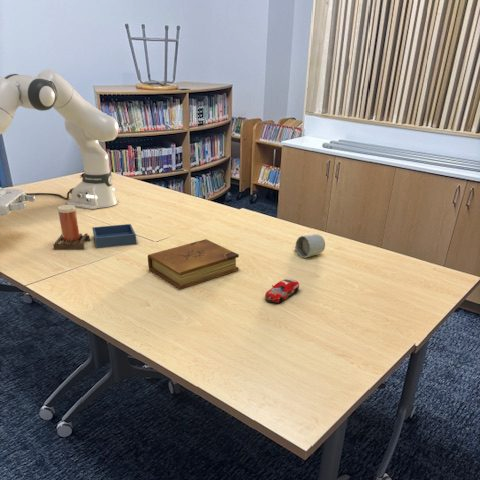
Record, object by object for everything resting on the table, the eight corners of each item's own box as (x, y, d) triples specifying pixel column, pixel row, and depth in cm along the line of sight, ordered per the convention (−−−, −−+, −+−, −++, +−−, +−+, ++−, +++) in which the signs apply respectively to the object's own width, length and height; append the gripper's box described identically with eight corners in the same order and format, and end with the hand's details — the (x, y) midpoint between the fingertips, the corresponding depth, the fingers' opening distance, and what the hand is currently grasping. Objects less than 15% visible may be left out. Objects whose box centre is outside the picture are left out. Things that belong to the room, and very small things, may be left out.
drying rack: (54, 249, 171) (52, 242, 170) (61, 239, 180) (60, 233, 179) (83, 249, 172) (82, 242, 170) (90, 239, 180) (89, 233, 179)
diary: (205, 253, 170) (204, 238, 167) (238, 270, 158) (238, 254, 155) (148, 269, 157) (147, 253, 154) (180, 289, 145) (179, 271, 142)
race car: (276, 306, 136) (277, 293, 134) (261, 300, 139) (262, 288, 137) (302, 290, 145) (303, 278, 143) (287, 285, 148) (288, 274, 146)
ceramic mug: (325, 255, 170) (327, 235, 166) (308, 260, 166) (310, 239, 162) (305, 247, 178) (307, 227, 174) (288, 251, 173) (290, 231, 170)
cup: (61, 240, 172) (55, 209, 166) (65, 235, 177) (60, 204, 171) (77, 240, 172) (72, 209, 166) (81, 235, 177) (76, 204, 171)
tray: (96, 248, 173) (95, 238, 171) (93, 236, 183) (92, 227, 181) (136, 244, 177) (135, 234, 175) (131, 233, 187) (130, 223, 185)
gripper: (-26, 201, 156) (17, 201, 157) (-1, 185, 174) (37, 186, 174) (-21, 220, 159) (21, 220, 160) (3, 203, 177) (41, 203, 178)
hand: (30, 202), depth 167 cm, fingers open, 8 cm apart
